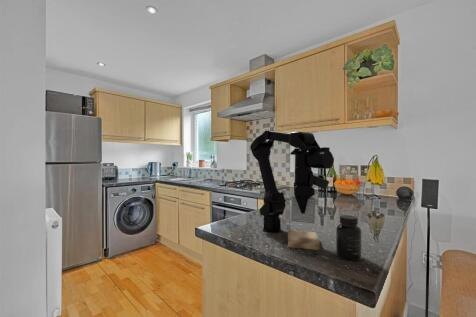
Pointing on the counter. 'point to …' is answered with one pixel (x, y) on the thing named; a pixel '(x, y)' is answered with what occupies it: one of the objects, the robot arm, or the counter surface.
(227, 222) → the counter surface
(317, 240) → the oak block
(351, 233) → the supplement bottle
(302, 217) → the medicine box
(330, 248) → the counter surface
